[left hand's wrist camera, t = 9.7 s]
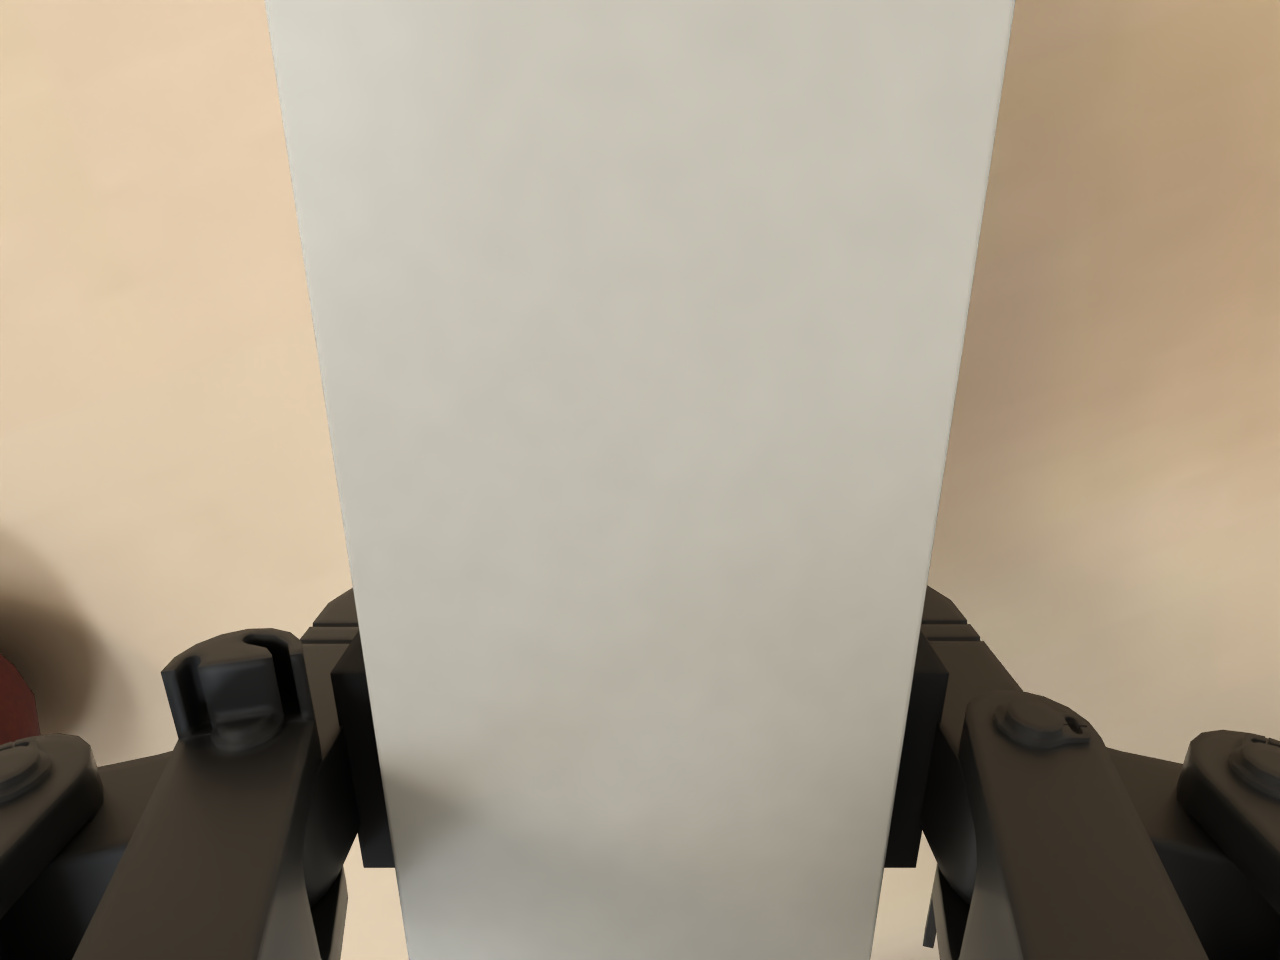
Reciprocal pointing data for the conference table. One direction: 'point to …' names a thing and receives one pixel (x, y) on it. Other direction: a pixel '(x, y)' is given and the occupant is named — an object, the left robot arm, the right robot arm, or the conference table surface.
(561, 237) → the beam
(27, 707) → the dark red ball
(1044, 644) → the conference table surface
